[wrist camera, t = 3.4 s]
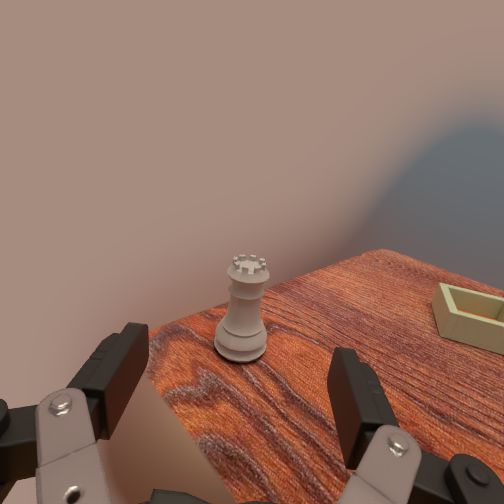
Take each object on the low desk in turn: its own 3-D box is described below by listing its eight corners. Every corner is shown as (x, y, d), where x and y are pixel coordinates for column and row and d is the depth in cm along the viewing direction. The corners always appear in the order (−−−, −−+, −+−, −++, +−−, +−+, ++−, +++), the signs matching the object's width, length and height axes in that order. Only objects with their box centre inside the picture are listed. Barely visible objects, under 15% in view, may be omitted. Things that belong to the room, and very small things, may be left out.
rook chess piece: (252, 374, 23) (265, 281, 20) (202, 352, 25) (208, 263, 22) (273, 341, 27) (287, 259, 24) (229, 324, 29) (237, 245, 26)
